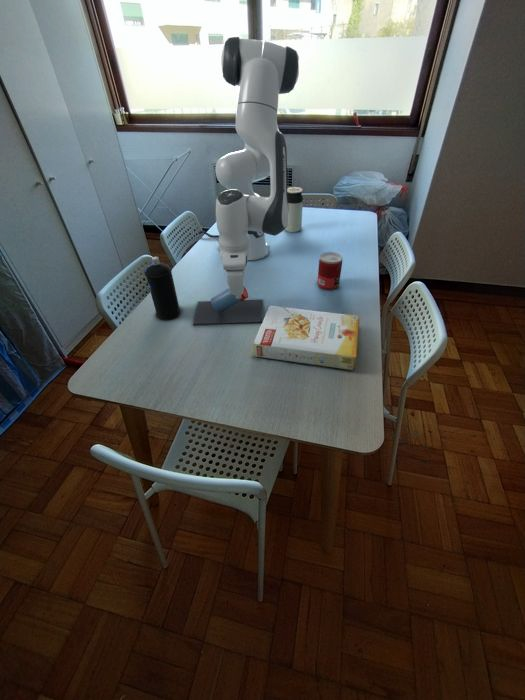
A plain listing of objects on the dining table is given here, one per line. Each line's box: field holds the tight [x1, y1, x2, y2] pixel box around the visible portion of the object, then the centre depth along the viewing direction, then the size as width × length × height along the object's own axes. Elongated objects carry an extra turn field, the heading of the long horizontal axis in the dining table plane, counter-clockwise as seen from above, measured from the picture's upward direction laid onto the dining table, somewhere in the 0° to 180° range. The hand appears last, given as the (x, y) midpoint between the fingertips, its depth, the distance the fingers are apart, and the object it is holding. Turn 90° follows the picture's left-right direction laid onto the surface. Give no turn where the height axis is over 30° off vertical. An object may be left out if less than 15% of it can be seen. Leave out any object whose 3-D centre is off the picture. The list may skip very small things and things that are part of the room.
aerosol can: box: [143, 256, 182, 321], centre depth 110 cm, size 8×8×20 cm
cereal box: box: [253, 305, 361, 371], centre depth 102 cm, size 20×6×28 cm
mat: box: [192, 299, 263, 326], centre depth 116 cm, size 22×13×1 cm, turn 91°
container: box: [210, 285, 249, 313], centre depth 113 cm, size 6×6×11 cm
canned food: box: [317, 251, 343, 291], centre depth 124 cm, size 8×8×11 cm
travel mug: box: [284, 186, 304, 233], centre depth 162 cm, size 8×8×18 cm
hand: (238, 291), depth 111 cm, fingers closed on container, 6 cm apart
